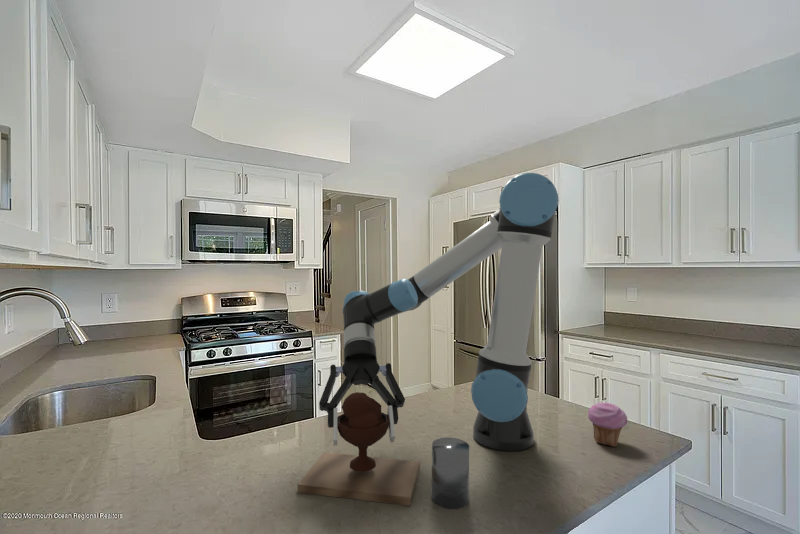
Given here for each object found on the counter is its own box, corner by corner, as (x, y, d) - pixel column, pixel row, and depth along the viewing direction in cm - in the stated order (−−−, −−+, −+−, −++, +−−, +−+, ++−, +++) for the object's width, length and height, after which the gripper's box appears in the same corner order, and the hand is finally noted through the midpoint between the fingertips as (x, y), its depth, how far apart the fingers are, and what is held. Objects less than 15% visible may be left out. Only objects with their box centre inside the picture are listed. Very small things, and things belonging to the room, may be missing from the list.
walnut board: (419, 468, 87) (420, 461, 87) (410, 505, 73) (410, 497, 73) (323, 458, 91) (323, 452, 91) (297, 492, 77) (297, 484, 77)
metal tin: (468, 490, 78) (469, 439, 79) (468, 511, 72) (469, 455, 72) (433, 486, 80) (433, 436, 80) (429, 506, 73) (430, 451, 73)
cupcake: (584, 443, 101) (584, 403, 101) (591, 432, 107) (592, 395, 108) (624, 453, 95) (624, 411, 95) (629, 441, 102) (629, 402, 102)
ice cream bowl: (382, 481, 76) (383, 402, 76) (327, 475, 78) (328, 398, 78) (394, 455, 86) (395, 386, 86) (345, 450, 88) (346, 382, 88)
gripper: (405, 354, 99) (418, 445, 84) (310, 357, 95) (305, 452, 80) (409, 337, 94) (424, 429, 78) (309, 338, 90) (303, 436, 74)
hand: (364, 441), depth 79 cm, fingers closed on ice cream bowl, 11 cm apart
